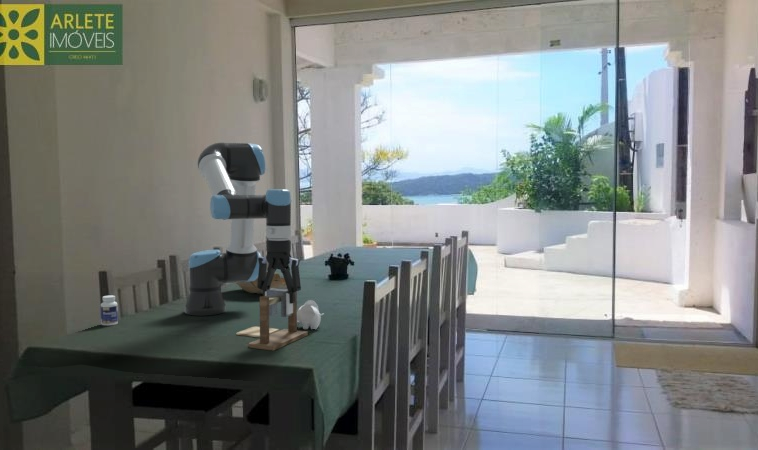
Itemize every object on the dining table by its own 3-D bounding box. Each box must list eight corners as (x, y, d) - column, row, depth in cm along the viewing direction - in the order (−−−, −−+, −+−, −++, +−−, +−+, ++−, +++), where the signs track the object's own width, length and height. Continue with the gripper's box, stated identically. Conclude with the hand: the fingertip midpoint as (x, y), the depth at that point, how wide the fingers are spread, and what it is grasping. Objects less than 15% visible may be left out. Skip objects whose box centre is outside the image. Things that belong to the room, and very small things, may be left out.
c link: (266, 315, 189) (266, 289, 188) (272, 313, 192) (272, 288, 191) (286, 317, 186) (285, 291, 186) (291, 315, 189) (291, 289, 188)
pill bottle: (101, 326, 207) (100, 298, 206) (100, 323, 212) (99, 295, 211) (118, 324, 210) (117, 297, 209) (117, 321, 214) (116, 294, 214)
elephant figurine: (291, 324, 212) (291, 299, 212) (326, 324, 212) (326, 299, 211) (287, 330, 203) (286, 304, 202) (322, 331, 202) (322, 305, 202)
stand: (273, 350, 178) (273, 299, 177) (248, 347, 182) (247, 296, 181) (307, 335, 197) (307, 288, 196) (284, 332, 200) (283, 286, 199)
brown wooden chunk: (307, 286, 278) (303, 255, 275) (267, 307, 256) (262, 273, 253) (259, 282, 294) (254, 253, 291) (218, 301, 272) (212, 269, 269)
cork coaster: (236, 334, 197) (236, 332, 197) (254, 328, 206) (254, 326, 206) (262, 337, 193) (262, 336, 193) (279, 330, 202) (279, 329, 202)
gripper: (244, 238, 188) (245, 311, 189) (300, 241, 180) (300, 317, 181) (258, 236, 195) (259, 307, 196) (312, 239, 187) (312, 313, 188)
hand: (279, 312), depth 189 cm, fingers closed on c link, 7 cm apart
